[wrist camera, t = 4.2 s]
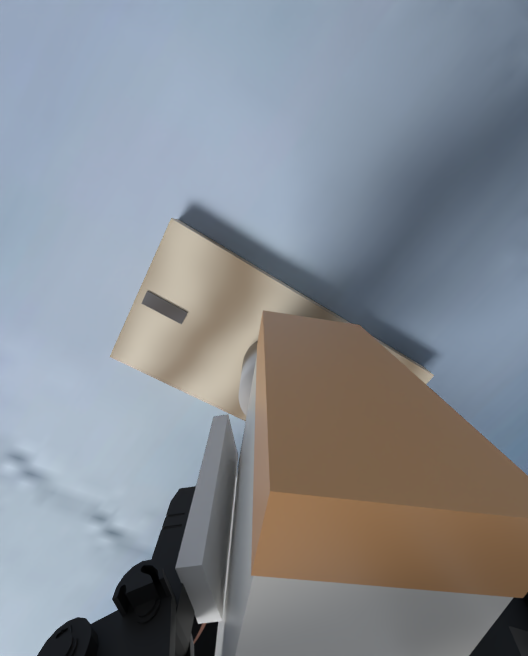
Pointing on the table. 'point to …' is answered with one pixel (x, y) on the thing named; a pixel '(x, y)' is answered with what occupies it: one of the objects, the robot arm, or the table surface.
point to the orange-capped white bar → (364, 507)
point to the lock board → (209, 319)
